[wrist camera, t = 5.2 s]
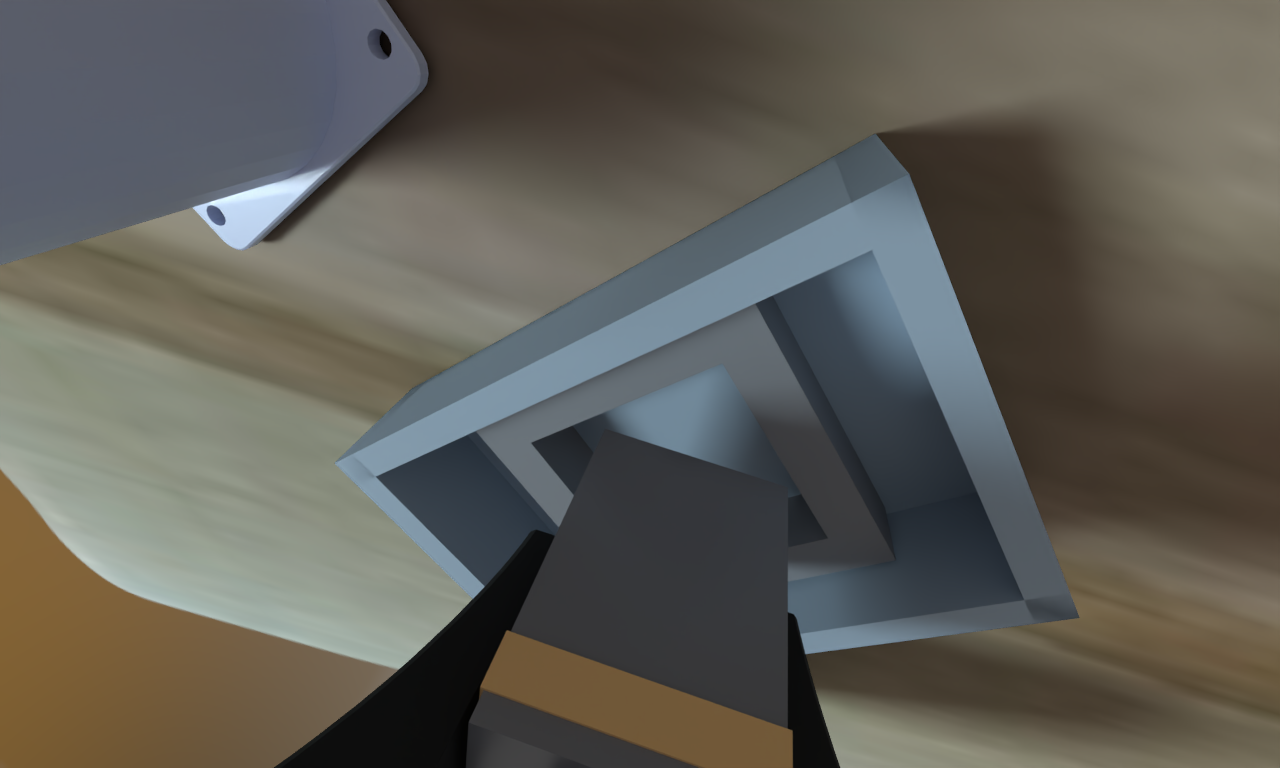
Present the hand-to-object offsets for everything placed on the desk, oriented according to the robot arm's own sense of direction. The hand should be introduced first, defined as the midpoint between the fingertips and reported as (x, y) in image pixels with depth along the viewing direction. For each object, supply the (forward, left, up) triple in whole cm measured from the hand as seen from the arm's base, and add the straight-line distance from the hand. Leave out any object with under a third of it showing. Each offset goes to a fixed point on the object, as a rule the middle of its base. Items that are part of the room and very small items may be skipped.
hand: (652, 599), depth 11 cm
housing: (0, 0, -5) cm, 5 cm away
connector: (0, 0, -2) cm, 2 cm away
